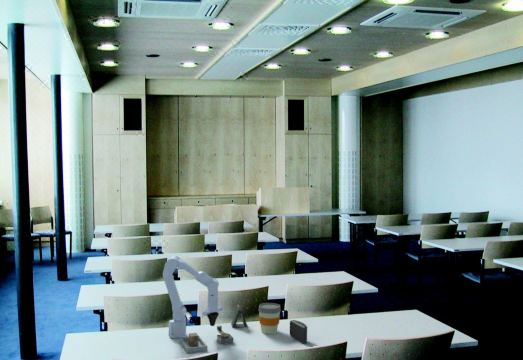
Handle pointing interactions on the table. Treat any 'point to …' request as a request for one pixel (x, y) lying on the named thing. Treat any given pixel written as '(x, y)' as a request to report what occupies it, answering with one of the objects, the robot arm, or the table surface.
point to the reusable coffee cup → (269, 317)
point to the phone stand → (237, 318)
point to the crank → (222, 332)
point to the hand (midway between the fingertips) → (212, 325)
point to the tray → (188, 349)
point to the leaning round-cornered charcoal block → (298, 331)
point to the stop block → (193, 339)
